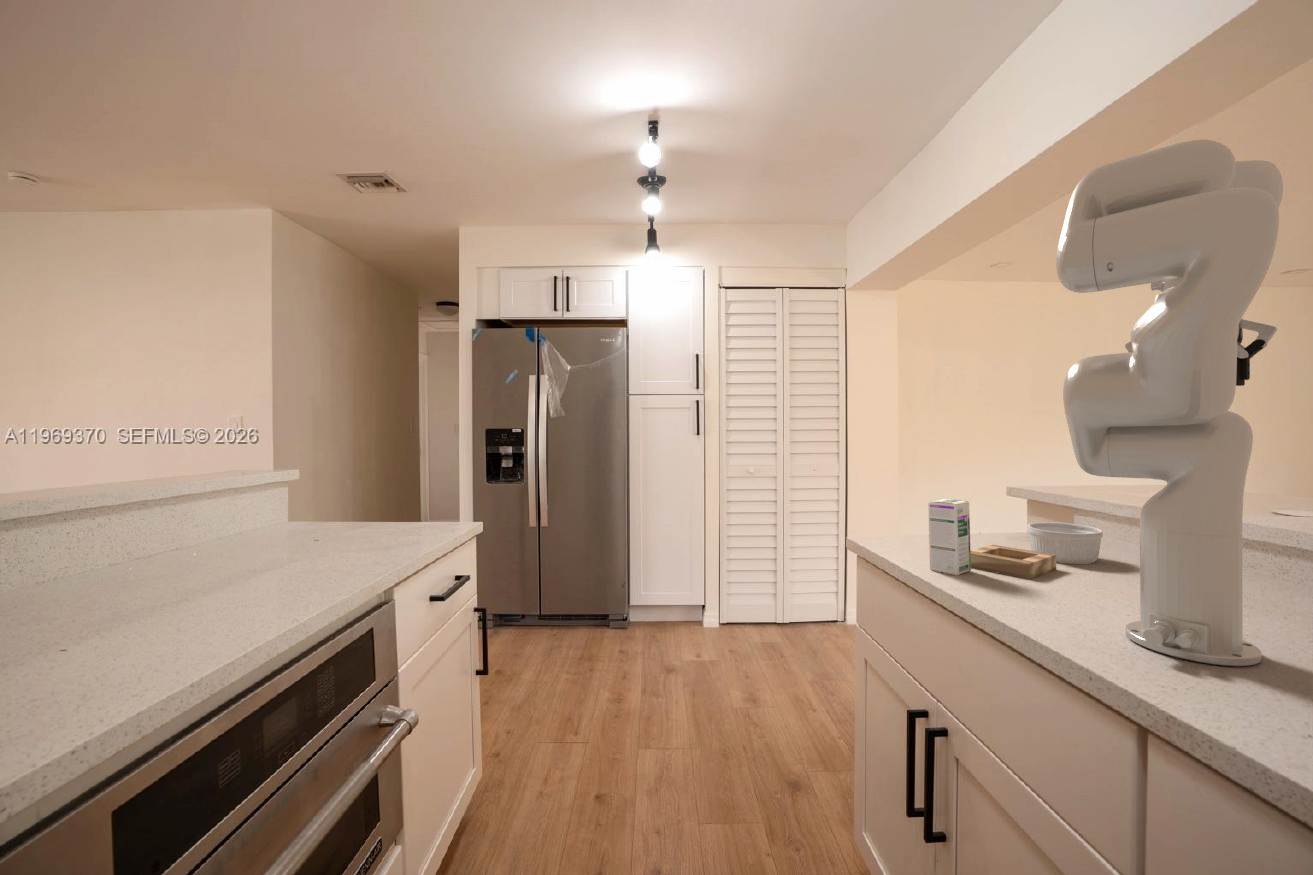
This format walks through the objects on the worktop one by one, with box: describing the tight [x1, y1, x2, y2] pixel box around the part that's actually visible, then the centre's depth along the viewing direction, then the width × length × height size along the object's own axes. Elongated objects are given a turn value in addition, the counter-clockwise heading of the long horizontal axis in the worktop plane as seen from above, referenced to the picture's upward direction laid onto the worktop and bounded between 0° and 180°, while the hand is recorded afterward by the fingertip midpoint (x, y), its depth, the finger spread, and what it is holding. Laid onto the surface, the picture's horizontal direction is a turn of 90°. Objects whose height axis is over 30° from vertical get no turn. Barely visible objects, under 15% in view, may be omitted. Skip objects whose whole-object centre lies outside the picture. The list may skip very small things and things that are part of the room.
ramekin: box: [1027, 521, 1104, 565], centre depth 117 cm, size 13×13×7 cm
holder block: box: [970, 544, 1057, 580], centre depth 110 cm, size 12×12×3 cm
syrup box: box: [927, 498, 972, 576], centre depth 108 cm, size 6×6×14 cm
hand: (1194, 387), depth 85 cm, fingers open, 9 cm apart
